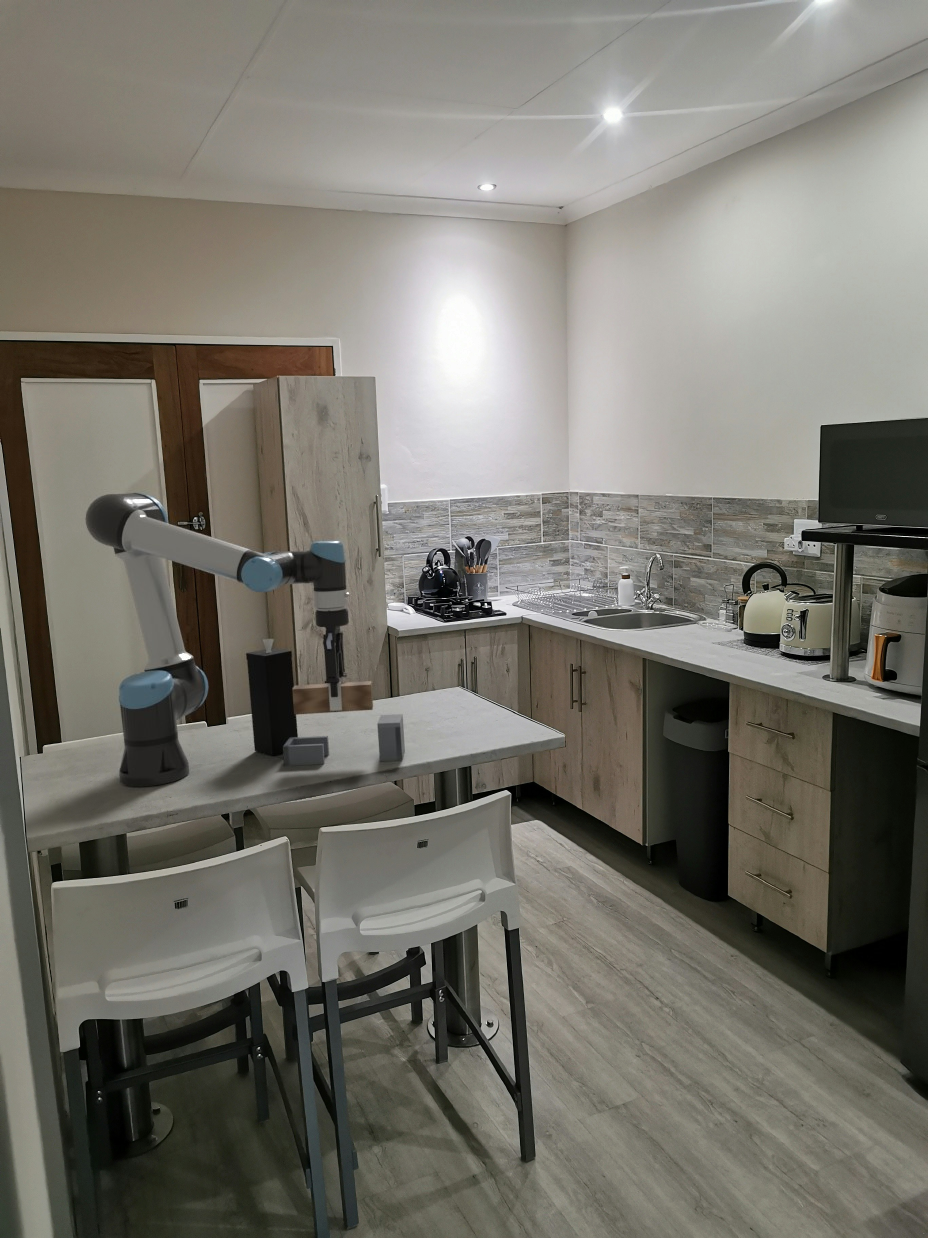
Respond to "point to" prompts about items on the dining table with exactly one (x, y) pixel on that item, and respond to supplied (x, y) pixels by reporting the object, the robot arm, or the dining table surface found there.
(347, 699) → the brown wooden block
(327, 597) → the robot arm
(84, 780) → the dining table surface
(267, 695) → the black tall block
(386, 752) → the end cap
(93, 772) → the dining table surface
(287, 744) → the end cap
